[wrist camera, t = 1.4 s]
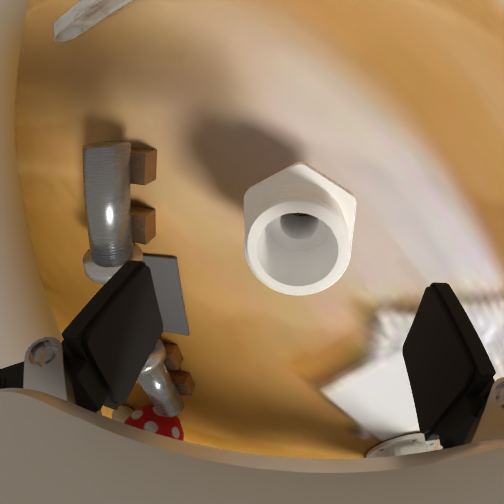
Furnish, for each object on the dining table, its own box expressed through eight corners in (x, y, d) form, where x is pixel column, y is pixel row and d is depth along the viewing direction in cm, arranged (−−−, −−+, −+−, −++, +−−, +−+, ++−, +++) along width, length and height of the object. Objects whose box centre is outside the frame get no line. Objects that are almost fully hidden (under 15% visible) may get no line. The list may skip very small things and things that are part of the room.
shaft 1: (157, 253, 25) (123, 290, 20) (110, 243, 26) (73, 274, 20) (158, 140, 20) (114, 153, 15) (106, 137, 21) (57, 151, 16)
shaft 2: (197, 388, 34) (183, 425, 29) (162, 383, 35) (145, 417, 30) (172, 332, 29) (150, 372, 24) (133, 328, 30) (109, 364, 25)
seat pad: (189, 333, 29) (188, 335, 29) (118, 319, 30) (117, 321, 30) (176, 257, 25) (175, 259, 25) (97, 250, 26) (95, 251, 26)
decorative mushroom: (97, 445, 36) (145, 489, 27) (85, 390, 37) (130, 427, 28) (147, 430, 45) (201, 462, 36) (139, 379, 46) (195, 404, 37)
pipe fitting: (347, 155, 19) (372, 182, 12) (339, 248, 22) (351, 314, 15) (256, 151, 20) (227, 175, 13) (258, 243, 23) (235, 306, 16)
